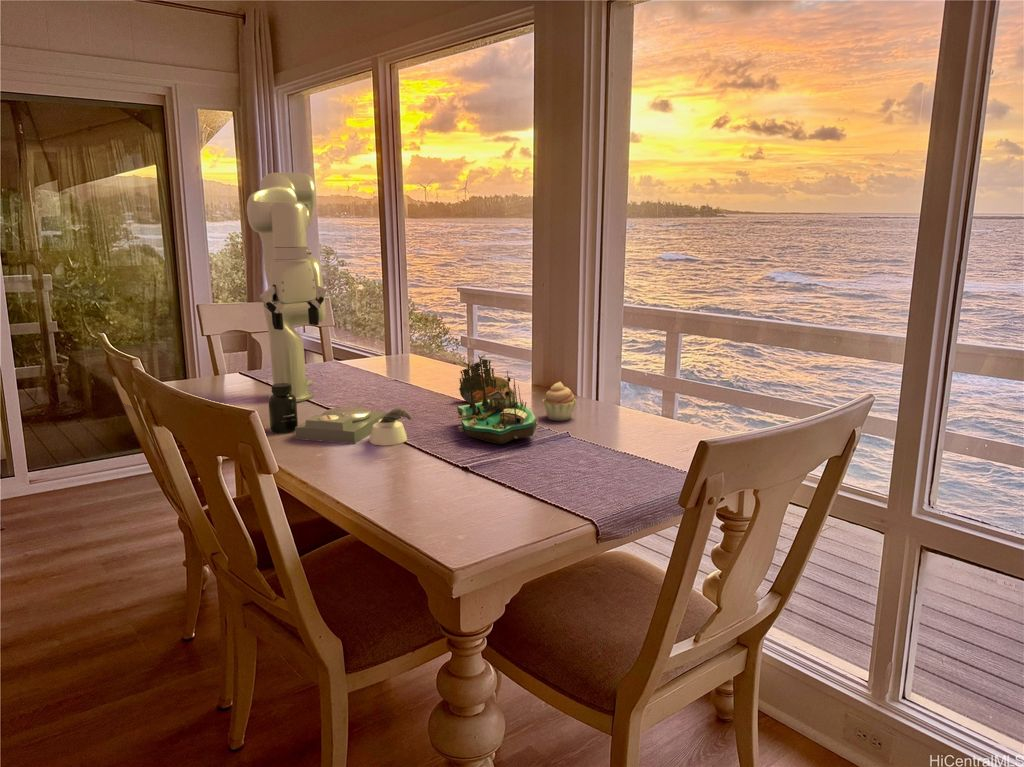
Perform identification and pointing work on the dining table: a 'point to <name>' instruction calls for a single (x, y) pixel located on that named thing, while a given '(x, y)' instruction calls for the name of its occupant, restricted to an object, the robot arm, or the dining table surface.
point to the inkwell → (390, 429)
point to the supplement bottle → (282, 409)
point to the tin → (479, 394)
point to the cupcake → (559, 402)
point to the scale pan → (350, 412)
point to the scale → (337, 428)
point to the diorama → (493, 408)
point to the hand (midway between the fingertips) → (296, 326)
